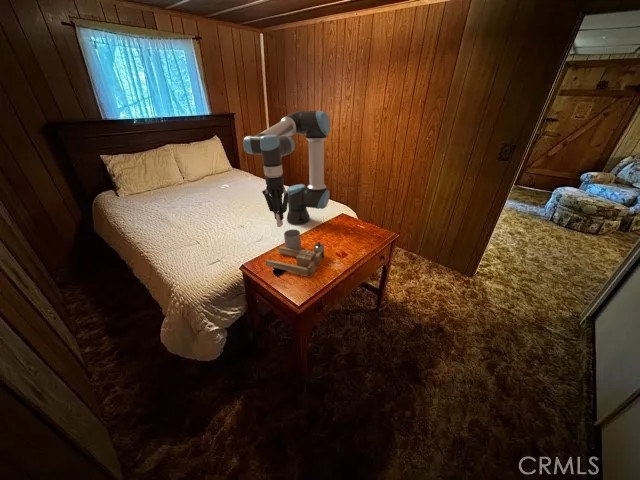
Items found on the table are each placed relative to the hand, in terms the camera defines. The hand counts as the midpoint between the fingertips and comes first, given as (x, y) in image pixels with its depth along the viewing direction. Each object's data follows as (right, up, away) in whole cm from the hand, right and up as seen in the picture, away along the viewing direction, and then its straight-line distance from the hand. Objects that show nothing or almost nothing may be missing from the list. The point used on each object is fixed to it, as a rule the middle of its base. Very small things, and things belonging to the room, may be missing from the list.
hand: (280, 225), depth 117 cm
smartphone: (-4, -21, +6) cm, 22 cm away
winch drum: (+18, -15, +13) cm, 27 cm away
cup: (+4, -12, +20) cm, 23 cm away
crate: (+12, -20, +6) cm, 24 cm away
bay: (+5, -18, +8) cm, 21 cm away
